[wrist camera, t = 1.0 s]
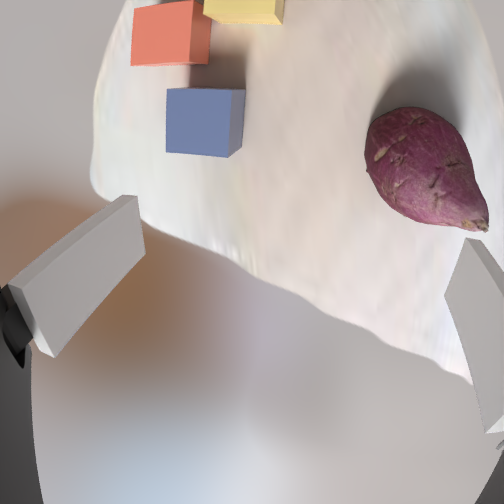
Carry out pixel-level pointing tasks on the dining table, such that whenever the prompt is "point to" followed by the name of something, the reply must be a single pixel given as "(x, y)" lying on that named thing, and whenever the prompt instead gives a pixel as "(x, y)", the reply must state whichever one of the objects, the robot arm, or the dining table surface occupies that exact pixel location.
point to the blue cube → (204, 121)
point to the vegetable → (424, 169)
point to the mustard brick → (245, 11)
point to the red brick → (170, 35)
